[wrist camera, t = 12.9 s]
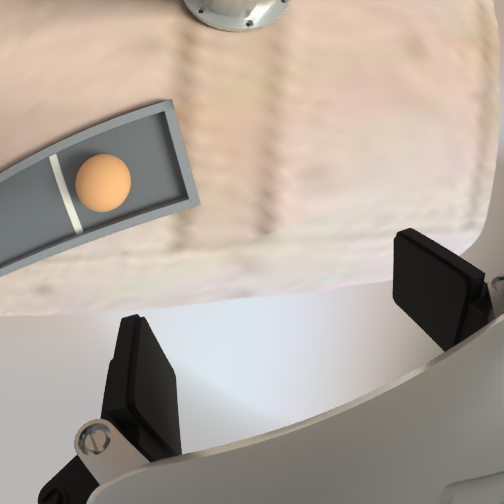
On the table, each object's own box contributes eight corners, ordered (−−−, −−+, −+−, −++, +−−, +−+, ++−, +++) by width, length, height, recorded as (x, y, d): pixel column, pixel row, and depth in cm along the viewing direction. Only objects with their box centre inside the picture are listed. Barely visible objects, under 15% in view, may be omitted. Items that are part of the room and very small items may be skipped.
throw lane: (-49, 207, 26) (-56, 211, 24) (172, 100, 29) (171, 99, 28) (-18, 280, 31) (-23, 287, 29) (199, 200, 35) (200, 205, 33)
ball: (79, 161, 29) (59, 171, 24) (126, 143, 30) (113, 149, 24) (95, 209, 32) (79, 227, 27) (142, 193, 32) (132, 209, 27)
